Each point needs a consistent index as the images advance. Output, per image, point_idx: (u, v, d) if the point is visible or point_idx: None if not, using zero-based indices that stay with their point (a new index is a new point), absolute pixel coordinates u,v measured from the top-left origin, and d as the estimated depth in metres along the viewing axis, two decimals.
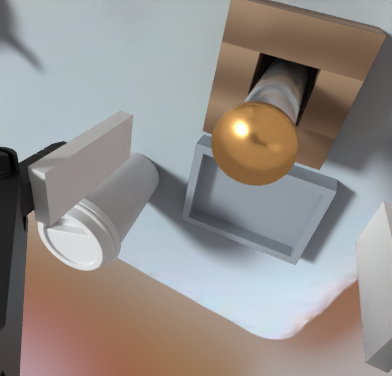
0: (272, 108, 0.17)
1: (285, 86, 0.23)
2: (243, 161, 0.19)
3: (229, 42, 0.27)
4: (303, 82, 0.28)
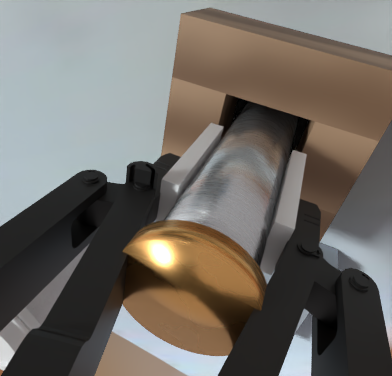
0: (214, 245, 0.09)
1: (257, 160, 0.14)
2: (170, 317, 0.11)
3: (182, 78, 0.19)
4: (289, 136, 0.19)
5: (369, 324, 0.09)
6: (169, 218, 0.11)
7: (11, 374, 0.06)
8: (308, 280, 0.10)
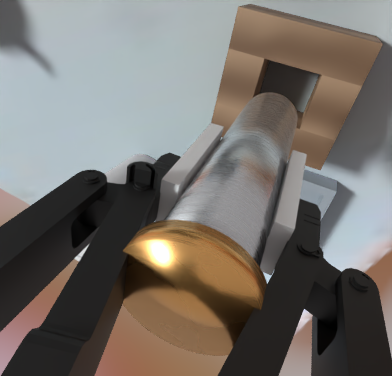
0: (214, 245, 0.09)
1: (257, 160, 0.14)
2: (170, 317, 0.11)
3: (235, 49, 0.29)
4: (289, 136, 0.19)
5: (369, 324, 0.09)
6: (169, 218, 0.11)
7: (11, 374, 0.06)
8: (308, 280, 0.10)
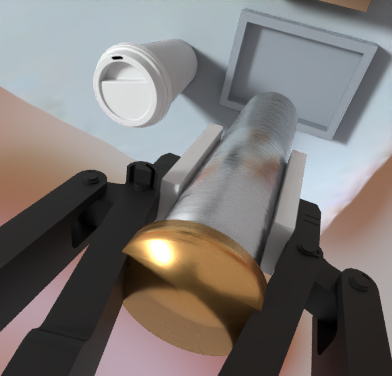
0: (214, 245, 0.09)
1: (257, 160, 0.14)
2: (170, 317, 0.11)
3: None
4: (290, 136, 0.19)
5: (369, 324, 0.09)
6: (169, 218, 0.11)
7: (11, 374, 0.06)
8: (308, 280, 0.10)
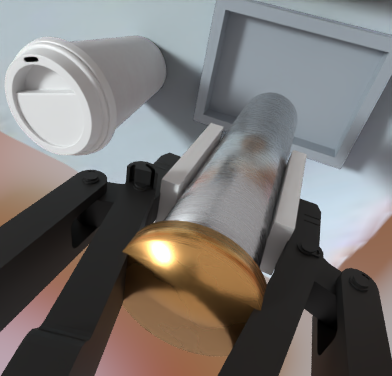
0: (213, 246, 0.09)
1: (257, 160, 0.14)
2: (170, 318, 0.11)
3: None
4: (289, 136, 0.19)
5: (369, 324, 0.09)
6: (169, 219, 0.11)
7: (11, 374, 0.06)
8: (308, 280, 0.10)
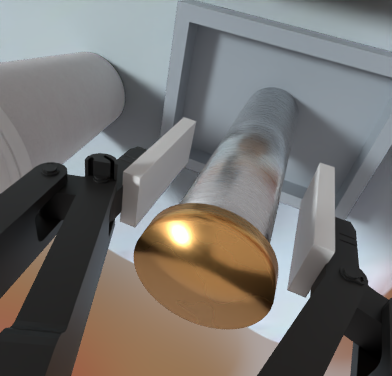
0: (230, 224, 0.10)
1: (263, 150, 0.15)
2: (187, 294, 0.12)
3: None
4: (291, 129, 0.20)
5: None
6: None
7: None
8: (349, 307, 0.10)
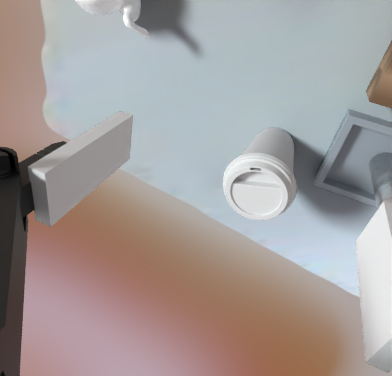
0: None
1: None
2: None
3: None
4: None
5: None
6: None
7: None
8: None
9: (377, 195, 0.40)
